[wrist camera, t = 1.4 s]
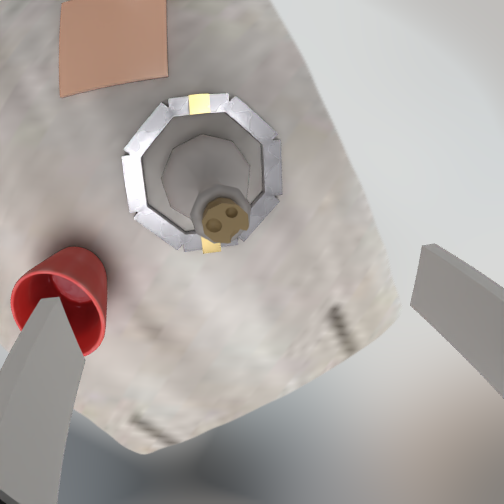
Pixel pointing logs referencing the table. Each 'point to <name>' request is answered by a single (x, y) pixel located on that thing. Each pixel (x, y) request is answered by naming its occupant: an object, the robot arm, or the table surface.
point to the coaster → (111, 43)
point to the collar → (191, 107)
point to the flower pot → (67, 293)
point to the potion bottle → (209, 187)
